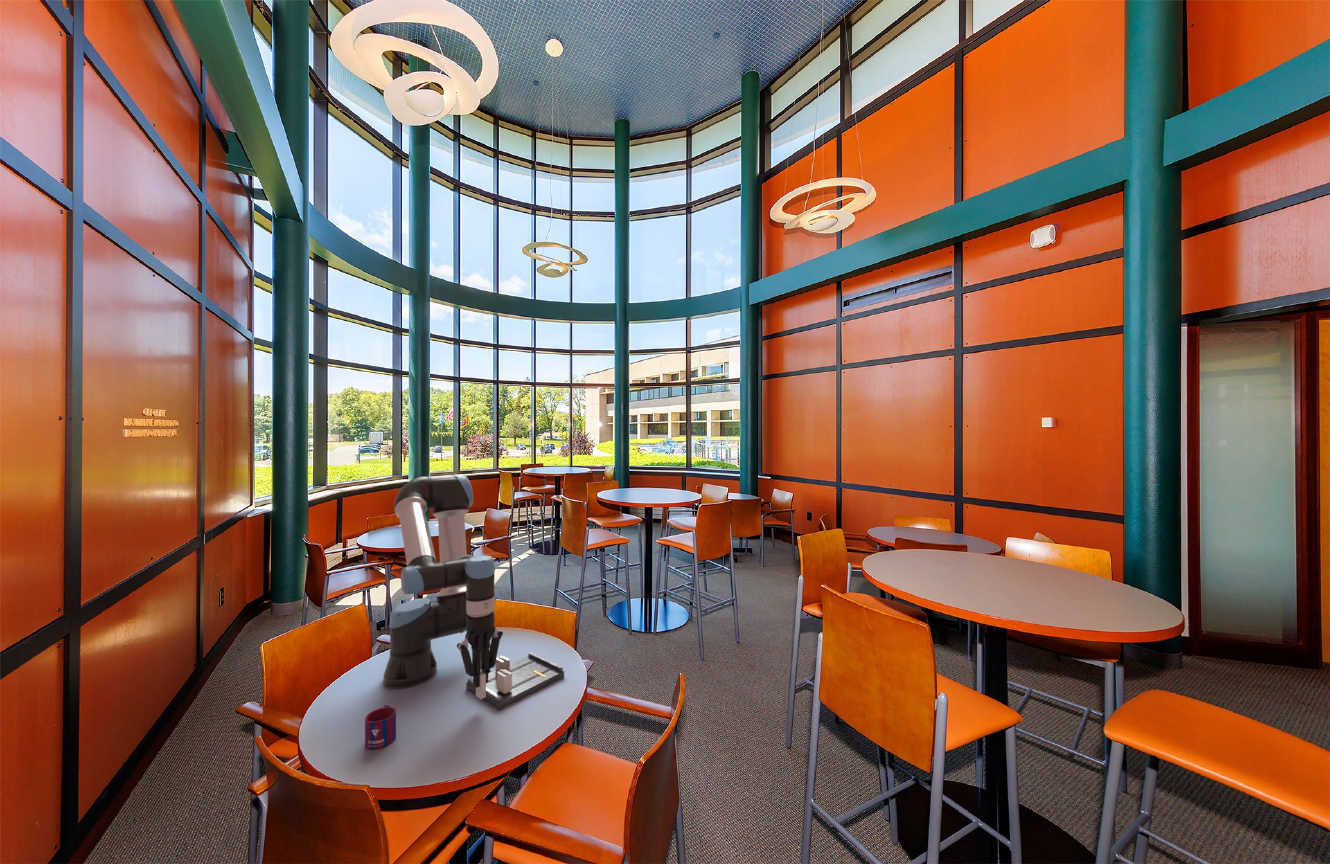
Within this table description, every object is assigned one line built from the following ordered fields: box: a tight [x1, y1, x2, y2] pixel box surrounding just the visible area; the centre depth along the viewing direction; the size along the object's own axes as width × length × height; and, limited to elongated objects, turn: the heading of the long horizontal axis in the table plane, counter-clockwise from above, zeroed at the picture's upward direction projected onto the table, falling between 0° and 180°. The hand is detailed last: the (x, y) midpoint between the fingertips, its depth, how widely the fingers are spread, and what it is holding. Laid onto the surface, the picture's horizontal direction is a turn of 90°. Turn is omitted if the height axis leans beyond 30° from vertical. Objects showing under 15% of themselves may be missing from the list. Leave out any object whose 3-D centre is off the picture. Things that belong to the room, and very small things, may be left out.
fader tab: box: [497, 669, 512, 694], centre depth 136 cm, size 4×2×5 cm, turn 51°
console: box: [465, 651, 565, 711], centre depth 145 cm, size 18×23×7 cm
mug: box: [364, 704, 397, 751], centre depth 119 cm, size 7×10×7 cm
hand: (480, 696), depth 131 cm, fingers closed
